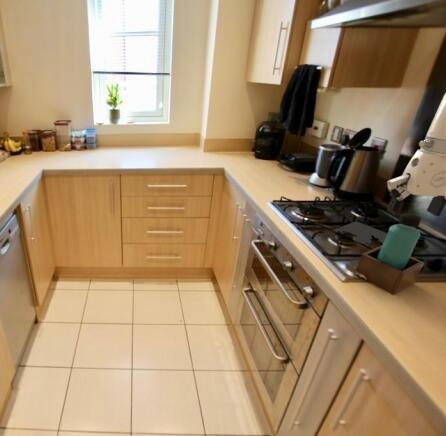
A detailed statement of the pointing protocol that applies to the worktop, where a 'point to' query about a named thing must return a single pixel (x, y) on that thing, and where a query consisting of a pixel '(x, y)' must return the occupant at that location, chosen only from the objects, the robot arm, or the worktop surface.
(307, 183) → the worktop surface
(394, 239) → the beverage bottle
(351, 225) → the mat
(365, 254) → the open box
